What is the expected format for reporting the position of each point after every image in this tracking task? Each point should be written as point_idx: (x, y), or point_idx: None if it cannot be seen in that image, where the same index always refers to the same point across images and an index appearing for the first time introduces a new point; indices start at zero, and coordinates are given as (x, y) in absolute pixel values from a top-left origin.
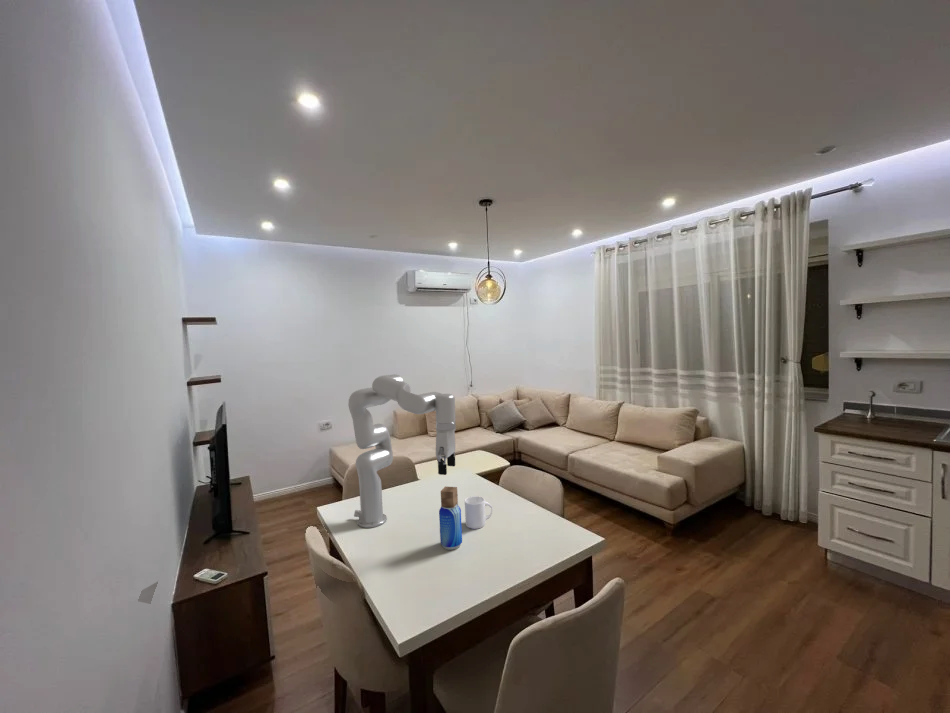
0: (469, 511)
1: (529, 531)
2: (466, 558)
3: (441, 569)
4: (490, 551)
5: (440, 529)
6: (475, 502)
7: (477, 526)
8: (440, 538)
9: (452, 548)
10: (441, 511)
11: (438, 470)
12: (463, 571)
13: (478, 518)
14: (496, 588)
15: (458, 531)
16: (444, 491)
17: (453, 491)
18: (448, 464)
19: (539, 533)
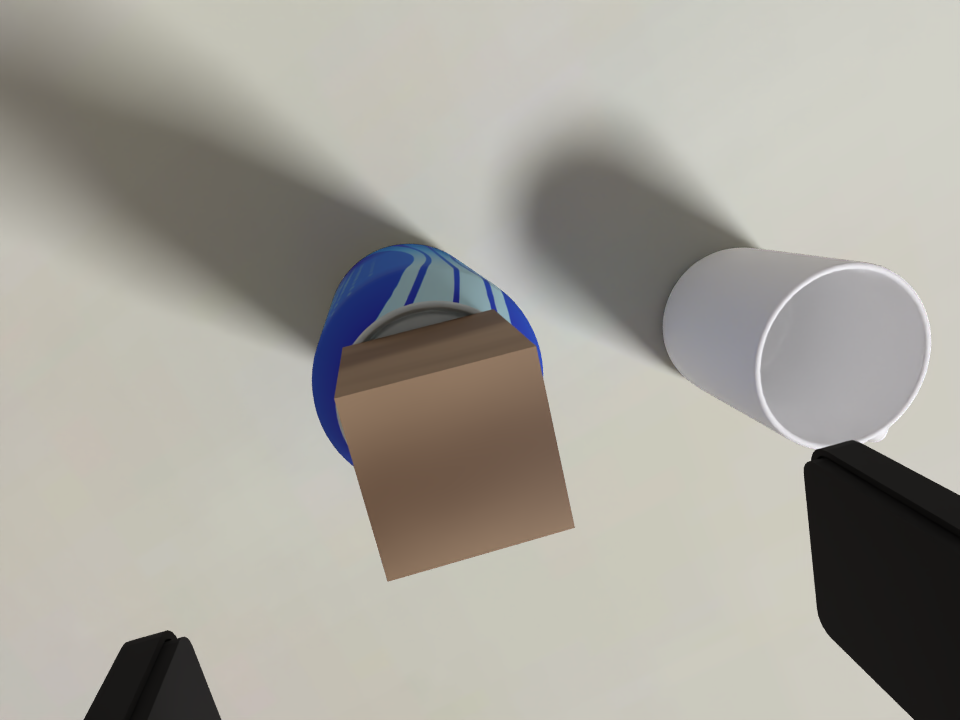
0: (719, 342)
1: (750, 658)
2: (313, 495)
3: (126, 428)
4: (450, 577)
5: (338, 293)
6: (880, 310)
7: (679, 371)
8: (350, 272)
9: None
10: (329, 347)
11: (97, 714)
12: (182, 554)
13: (711, 393)
14: None
15: None
16: (352, 459)
17: (412, 572)
18: (831, 498)
19: (745, 712)
